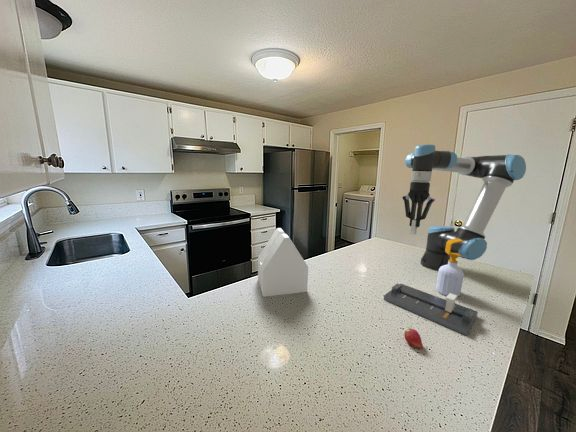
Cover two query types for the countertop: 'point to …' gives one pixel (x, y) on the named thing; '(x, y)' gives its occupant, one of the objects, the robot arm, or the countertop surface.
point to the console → (432, 308)
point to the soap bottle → (450, 273)
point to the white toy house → (281, 267)
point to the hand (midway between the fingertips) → (413, 233)
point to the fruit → (413, 338)
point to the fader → (450, 302)
